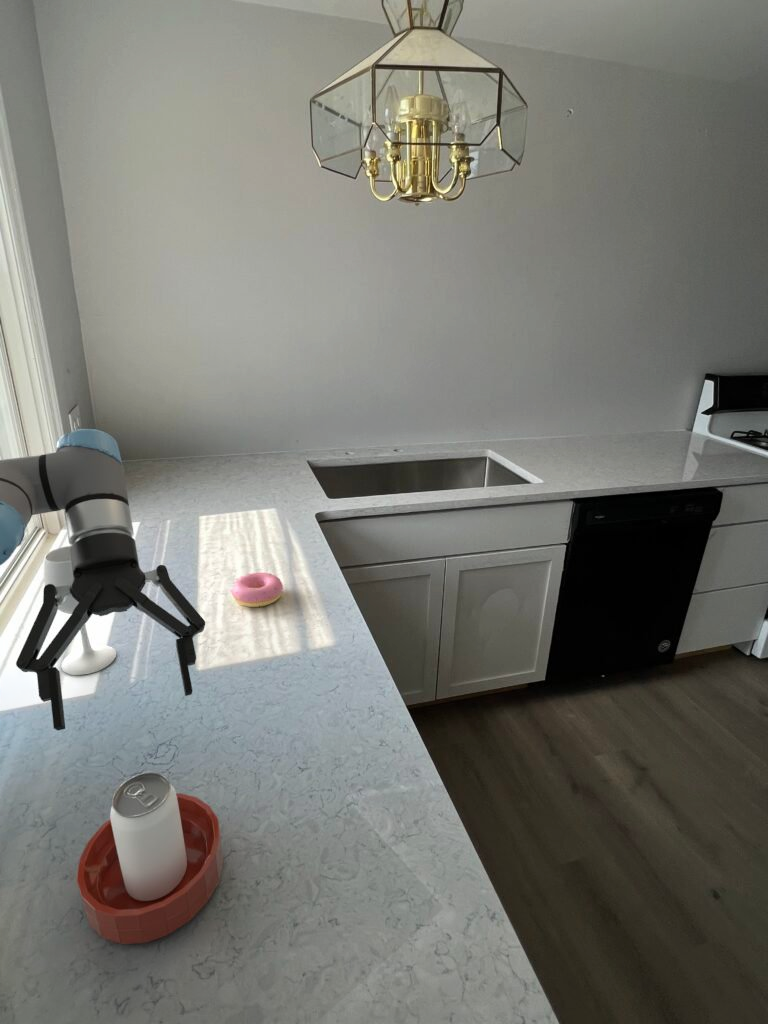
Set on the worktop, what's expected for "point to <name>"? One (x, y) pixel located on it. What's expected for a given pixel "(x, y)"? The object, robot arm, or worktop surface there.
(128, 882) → the can
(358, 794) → the worktop surface
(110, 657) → the wineglass
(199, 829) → the bowl
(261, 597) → the doughnut
